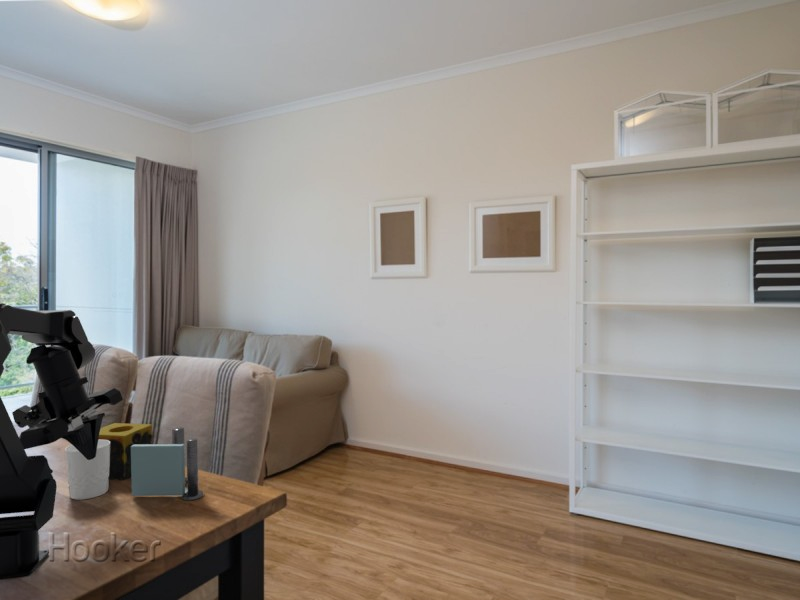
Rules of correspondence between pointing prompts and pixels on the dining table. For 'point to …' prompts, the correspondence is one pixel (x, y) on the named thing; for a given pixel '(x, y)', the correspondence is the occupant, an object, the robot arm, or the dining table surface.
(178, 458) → the gate
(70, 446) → the white cup
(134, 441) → the holed cube box
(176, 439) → the post
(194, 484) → the hinge post
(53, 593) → the dining table surface
